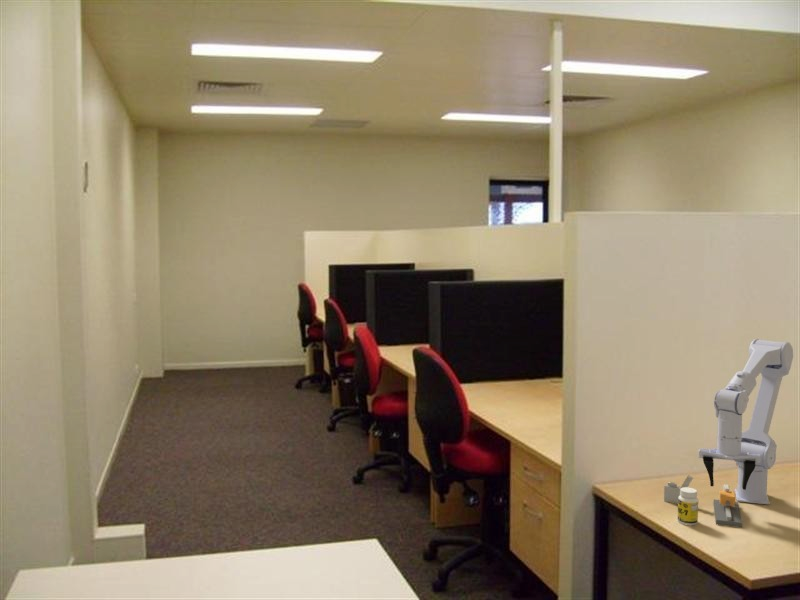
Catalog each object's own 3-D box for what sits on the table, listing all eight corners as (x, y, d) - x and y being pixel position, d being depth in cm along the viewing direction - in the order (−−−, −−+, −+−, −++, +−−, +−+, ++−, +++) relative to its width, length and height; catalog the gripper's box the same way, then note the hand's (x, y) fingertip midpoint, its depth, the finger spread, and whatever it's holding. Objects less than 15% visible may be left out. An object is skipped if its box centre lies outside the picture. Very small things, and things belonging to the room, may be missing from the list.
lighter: (663, 501, 203) (664, 472, 202) (665, 499, 204) (666, 470, 203) (690, 506, 199) (691, 477, 198) (692, 504, 200) (693, 475, 199)
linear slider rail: (713, 503, 201) (714, 482, 200) (737, 506, 198) (738, 485, 198) (716, 524, 187) (716, 501, 186) (742, 527, 184) (743, 504, 184)
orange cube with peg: (719, 499, 197) (719, 490, 197) (733, 500, 196) (734, 492, 195) (720, 506, 192) (720, 497, 192) (735, 508, 191) (735, 499, 190)
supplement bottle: (673, 520, 190) (674, 488, 189) (687, 517, 191) (688, 485, 191) (687, 527, 185) (688, 494, 184) (701, 523, 187) (702, 491, 186)
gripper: (699, 437, 191) (698, 488, 193) (762, 442, 186) (760, 495, 188) (699, 430, 198) (697, 479, 199) (759, 435, 193) (757, 485, 194)
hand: (727, 486), depth 194 cm, fingers open, 7 cm apart
